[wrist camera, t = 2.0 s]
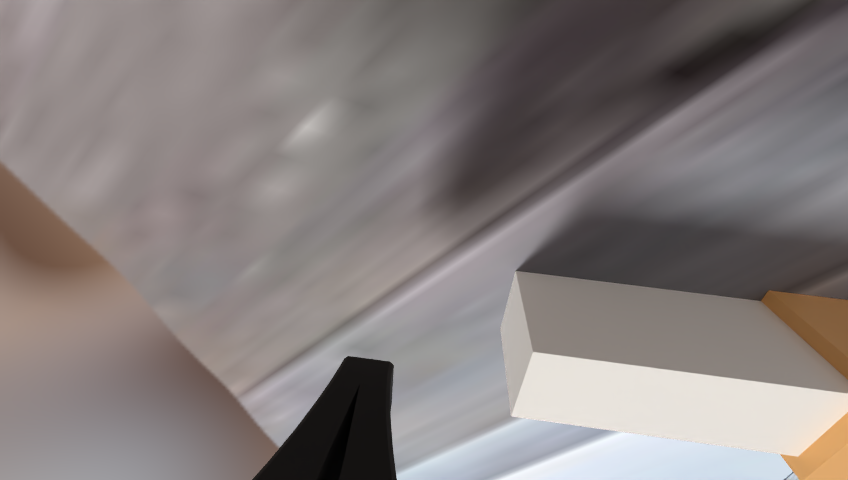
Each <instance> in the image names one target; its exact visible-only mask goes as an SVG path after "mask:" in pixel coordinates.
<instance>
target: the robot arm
mask: <svg viewBox="0 0 848 480" xmlns="http://www.w3.org/2000/svg"><path fill="white" fill-rule="evenodd" d="M393 368H394V365H393V364H392V363H391V362H388V361H381V360H373V359H366V358H358V357H351V356H348V357H346V358H345V359H344V360H343V362H342V364H341V365H340V367H339V369H338V370H337V372H336V373H335V375H334V377H333V378H332V380H331V381H330V383H329V384H328V386H327V387H326V388H325V390H324V391H323V393H322V394H321V396H320V397H319V398H318V400H317V401H316V403H315V404H314V405H313V407H312V408H311V409H310V411H309V412H308V413H307V414H306V416H305V417H304V418H303V420H302V421H301V422H300V424H299V425H298V426H297V428H296V429H295V430H294V431H293V433H292V434H291V435H290V436H289V437H288V439H287V440H286V441H285V442H284V443H283V445H282V446H281V447H280V448H279V450H278V451H277V452H276V453H275V454H274V456H273V457H272V458H271V459H270V460H269V461H268V463H267V464H266V465H265V466H264V467H263V468H262V469H261V471H260V472H259V473H258V474H257V475H256V476H255V477H254V478H253V479H252V480H397V479H396V471H395V463H394V455H393V445H392V432H391V417H390V411H391V404H392V386H393Z"/></svg>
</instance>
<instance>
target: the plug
mask: <svg viewBox="0 0 848 480" xmlns="http://www.w3.org/2000/svg"><path fill="white" fill-rule="evenodd" d="M500 329H501V337H502V345H503V354H504V362H505V370H506V378H507V386H508V395H509V403H510V411H511V416H512V417H519V418H526V419H533V420H541V421H548V422H555V423H562V424H569V425H576V426H583V427H590V428H598V429H605V430H612V431H619V432H626V433H633V434H640V435H647V436H654V437H662V438H669V439H676V440H683V441H690V442H697V443H704V444H711V445H719V446H726V447H733V448H740V449H747V450H754V451H761V452H768V453H776V454H780V455H781V456H782V457H783V459H784V460H785V461H786V463H787V464H788V465H789V467H790V468H791V469H792V471H793V472H794V473H795V475H796V476H797V477H798V479H799V480H848V300H844V299H835V298H827V297H819V296H811V295H803V294H794V293H786V292H778V291H770V290H769V291H768V292H767V293H766V295H765V296H764V297H763V299H762V300H761V301H757V300H748V299H740V298H732V297H724V296H716V295H708V294H700V293H692V292H683V291H675V290H667V289H659V288H651V287H643V286H635V285H627V284H618V283H610V282H602V281H594V280H586V279H578V278H570V277H562V276H553V275H545V274H537V273H529V272H521V271H515V275H514V279H513V283H512V286H511V290H510V294H509V298H508V302H507V306H506V309H505V313H504V317H503V321H502V325H501V328H500Z"/></svg>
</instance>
